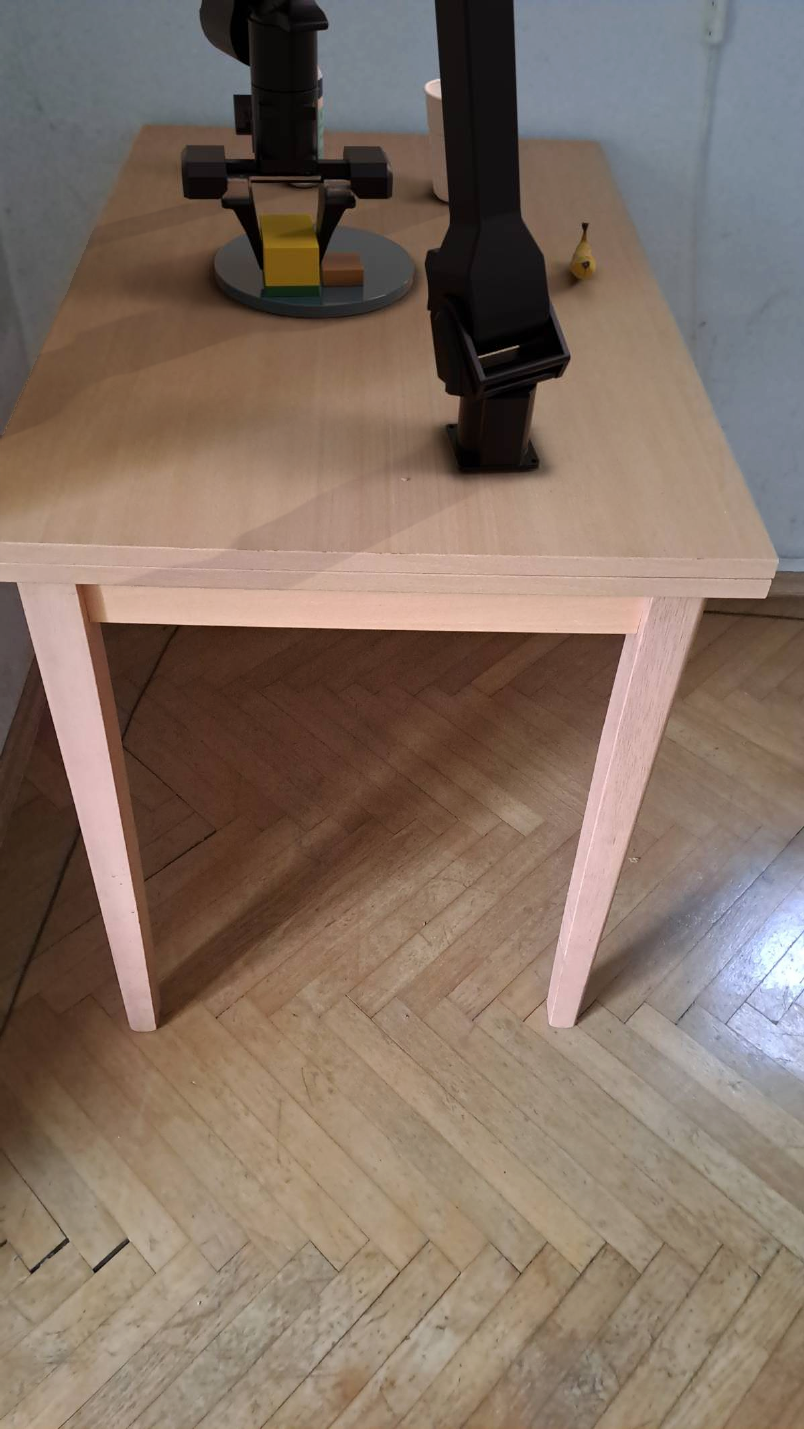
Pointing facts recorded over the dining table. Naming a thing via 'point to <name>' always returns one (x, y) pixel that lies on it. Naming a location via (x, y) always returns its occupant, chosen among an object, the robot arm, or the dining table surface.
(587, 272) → the banana
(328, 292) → the plate
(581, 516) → the dining table surface
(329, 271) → the brown wooden block
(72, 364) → the dining table surface
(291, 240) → the sponge
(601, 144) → the dining table surface
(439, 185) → the cup
